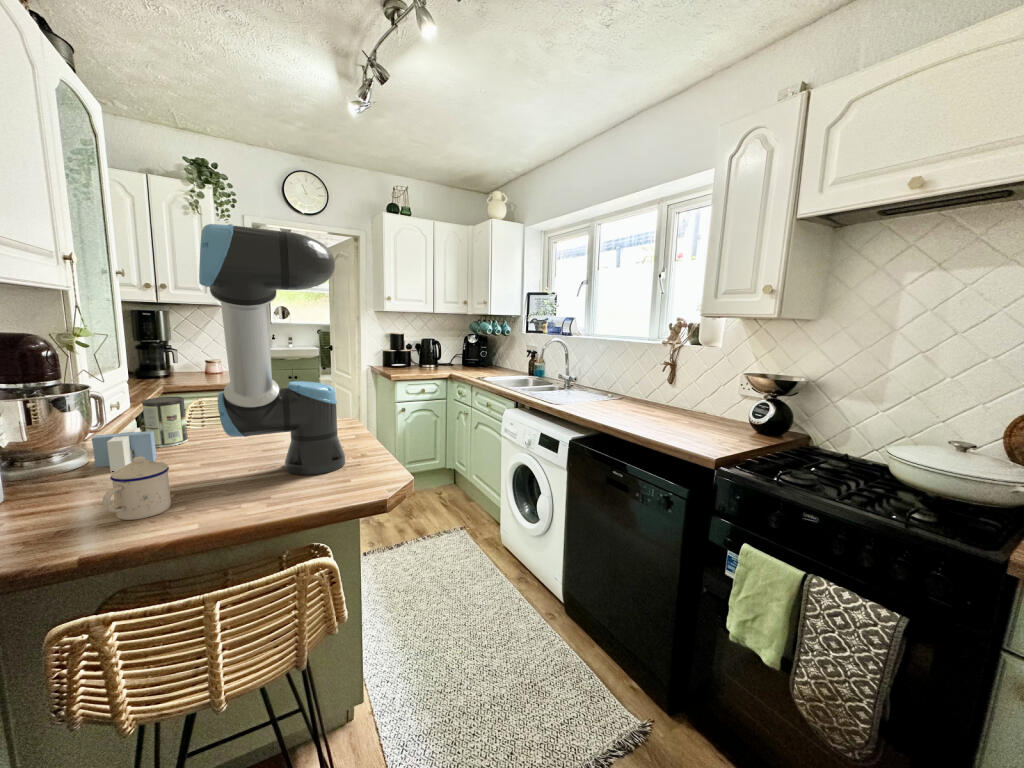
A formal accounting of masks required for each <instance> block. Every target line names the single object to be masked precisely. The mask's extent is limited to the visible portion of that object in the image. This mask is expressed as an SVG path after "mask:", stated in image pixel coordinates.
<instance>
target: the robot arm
mask: <svg viewBox="0 0 1024 768" xmlns="http://www.w3.org/2000/svg"><path fill="white" fill-rule="evenodd" d="M198 267H199V268H198V270H199V271H198V272H199V273H198V280H199V284H200V285H201V286H204V287H205V288H209V292H210V294H211V296H212V297H213V298H214V300H217V301H218V302H220V308H221V315H222V326H223V333H224V342H225V349H226V356H227V365H228V376H229V382H227V384H226V385H225V386H224V389H223V391H220V392H218V394H217V409H218V414H219V419H220V423H221V426H222V430H223V431H224V433H225V434H226V435H227V436H228V437H231V438H235V437H237V438H238V437H244V438H246V437H253V436H262V435H263V436H264V435H271V434H279V433H290V442H289V447H288V449H287V453H286V456H285V460H284V468H285V471H286V472H287V473H289V474H293V475H297V476H299V475H301V476H307V475H308V476H310V475H311V476H313V475H321V474H326V473H331V472H333V471H336V470H338V469H340V468H342V467H343V466H345V465H346V455H345V454H346V453H345V452H344V449H343V446H342V444H341V442H340V439H339V436H338V414H337V413H338V412H337V404H338V401H337V395H336V392H337V391H336V389H335V388H334V387H333V386H332V385H329V384H328V383H327V384H326V383H322V382H316V381H315V382H314V381H304V380H303V381H300V380H298V381H290V382H288V384H287V386H286V387H282V388H280V387H279V384H278V382H276V381H275V380H274V379H273V374H272V373H273V372H272V353H271V352H272V351H271V332H270V331H271V330H270V329H271V328H270V327H271V326H270V307H269V305H270V303H271V302H274V301H275V299H276V297H277V290H278V291H279V290H280V291H281V290H283V291H301V290H307V289H312V288H315V287H318V286H321V285H323V284H325V283H326V282H328V281H329V280H330V279H331V278H332V276H333V274H334V272H335V268H336V262H335V257H334V255H333V253H332V251H331V250H330V248H329V247H328V246H326V245H325V244H324V243H322V242H321V241H319V240H317V239H314V238H313V237H310V236H307V235H304V234H302V233H301V234H300V233H296V232H291V231H283V230H282V231H281V230H273V229H265V228H257V227H248V226H240V225H239V226H238V225H233V224H232V223H229V224H218V223H217V224H216V223H208V224H206V225H204V226H203V227H202V230H201V233H200V248H199V266H198Z"/></svg>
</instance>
